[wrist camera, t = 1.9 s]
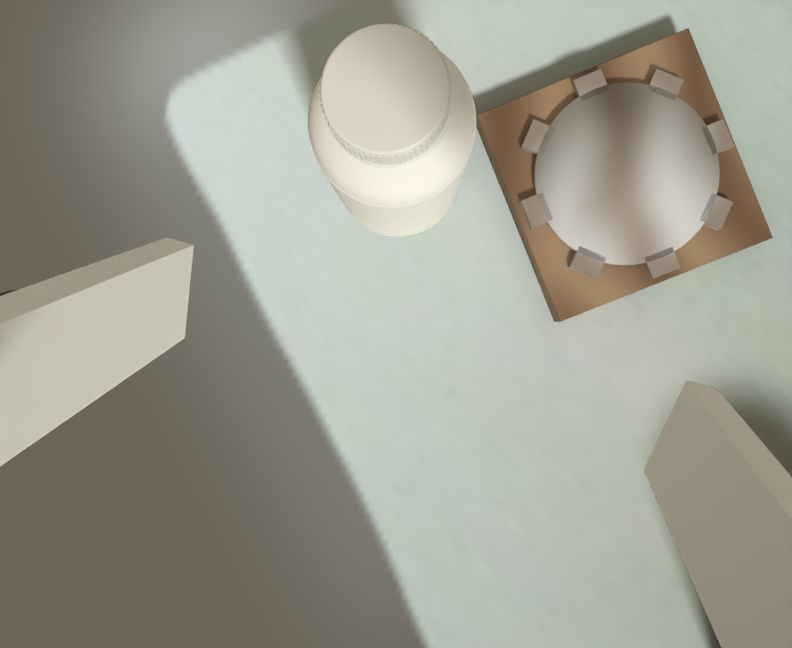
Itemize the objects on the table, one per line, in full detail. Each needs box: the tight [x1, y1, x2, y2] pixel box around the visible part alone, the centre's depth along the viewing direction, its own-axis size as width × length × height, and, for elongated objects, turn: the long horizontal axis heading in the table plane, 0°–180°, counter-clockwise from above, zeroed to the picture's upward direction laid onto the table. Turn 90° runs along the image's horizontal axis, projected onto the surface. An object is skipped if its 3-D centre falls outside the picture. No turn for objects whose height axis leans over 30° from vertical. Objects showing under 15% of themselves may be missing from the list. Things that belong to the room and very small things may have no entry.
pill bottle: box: [308, 23, 476, 236], centre depth 30 cm, size 8×8×15 cm
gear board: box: [476, 29, 773, 321], centre depth 36 cm, size 14×14×2 cm
